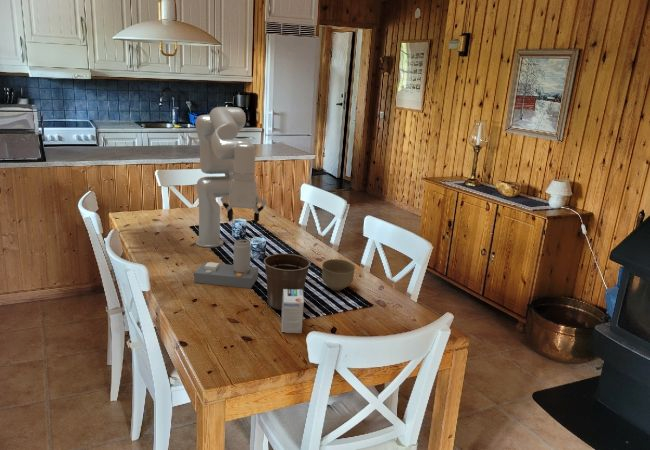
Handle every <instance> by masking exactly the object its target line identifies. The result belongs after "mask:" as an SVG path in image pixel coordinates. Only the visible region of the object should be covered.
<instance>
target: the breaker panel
mask: <svg viewBox="0 0 650 450" xmlns="http://www.w3.org/2000/svg"><path fill="white" fill-rule="evenodd" d="M207 263H208V262H205V261H204V262H203V263H202V264H201V265H200V266H199V267H198V268H196V270H195V272H193V275H194V278H193V283H195V284H205V285H214V286H224V287H231V288H232V287H233V288H241V289H252V288H253V286H254V284H255V283H256V282H257V279H258V278H259V267H258V266H257V267H256V266H250V270H249V272H248V274H247V275H245V274H242V273H237V274H236V273H235V271H234V270H233V264H228V263H227V264H226V263H219V269H218V270H217V271H211V270H205V265H206V264H207Z"/></svg>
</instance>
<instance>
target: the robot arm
mask: <svg viewBox="0 0 650 450" xmlns="http://www.w3.org/2000/svg"><path fill="white" fill-rule="evenodd" d="M246 120H247V118H246V113H245V112H244V110H243V109H242V108H241V107H236V106H235V107H233V106H216V107H213V108H212V109H211V111H210V112H209V114H201V115H198V116H197V118H196V119H195V130H196V134H197V137H198V139H199V166H200V170H201V172H202V173H204V174H208V175H212V176H203V177H200V178H199V179H198V180H197V181H196V190H197V199H198V238H197V239H196V240H195V245H196V246H198V247H200V248H207V249H208V248H218V247H221V246H222V245H224V240H223V239H222V238H221V206H220V203H218V202H217V200H216V199H217V198H220V201H221V203H222V206H223V207H224V208H225V209H226V211H227V216H226V218H227V219H228V222H231V221H232V220H233V218H234V217H233V215H234V210H233V208H238V209H247V210H248V209H249V210H253V211H254V213H253V224H255V225H256V224H257V223H258V222H259V221H260V212H261V211H263V209H264V208H265V207H266V205H267V203H268V201H266V200H264V199H263V198H262V197H260V196H259V195H258V186H257V185H258V184H257V181H256V180H255V177H256V176H255V173H256V172H255V167H256V166H255V165H256V146H255V144H254V143H252V142H251V141H250V140H249V139H235V138H236V137H237V136H238V134H239V132H240V131H241V130H242V129H243V128H245V125H246V122H247V121H246ZM215 174H216V175H215ZM220 174H223V175H220ZM214 175H215V176H214ZM217 175H218V176H217ZM227 200H228V202H227ZM259 203H261V204H260V205H261V206H258V205H259Z"/></svg>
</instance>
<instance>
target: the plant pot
mask: <svg viewBox="0 0 650 450" xmlns="http://www.w3.org/2000/svg"><path fill="white" fill-rule="evenodd" d="M263 263H264V266H265V267H264V268H265V274H266V291H267V294H266V295H267V297H266V298H267V304H268V305H269V307H271V308H272V309H274V310H279V311H282V298H283V289H301V290H303V293H304V291H305V286H306V285H305V284H306V280H307V277H308V272H309V267H311V261H310V259H308V258H307V257H304V256H302V255H298V254H294V253H293V254H292V253H275V254H271V255H268V256H266V257H265V258H264V259H263Z"/></svg>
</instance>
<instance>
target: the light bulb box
mask: <svg viewBox="0 0 650 450" xmlns="http://www.w3.org/2000/svg"><path fill="white" fill-rule="evenodd" d="M304 299H305V298H304V292H303V290H301V289H283V298H282V310H281V320H280V321H281V328H280V329H281V331H280V332H281V333H282V332H285V333H287V334H302V330H303V321H304V320H303V316H304V304H305V301H304Z"/></svg>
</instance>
